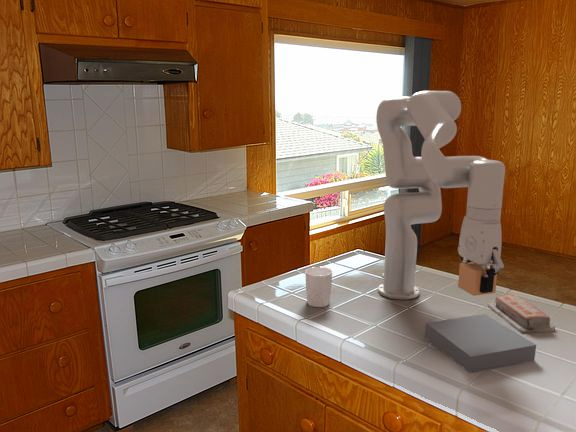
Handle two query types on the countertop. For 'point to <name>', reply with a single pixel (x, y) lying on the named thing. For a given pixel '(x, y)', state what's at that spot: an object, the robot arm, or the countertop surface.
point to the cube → (472, 278)
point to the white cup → (318, 286)
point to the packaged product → (521, 314)
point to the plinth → (479, 342)
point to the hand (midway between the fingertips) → (476, 286)
